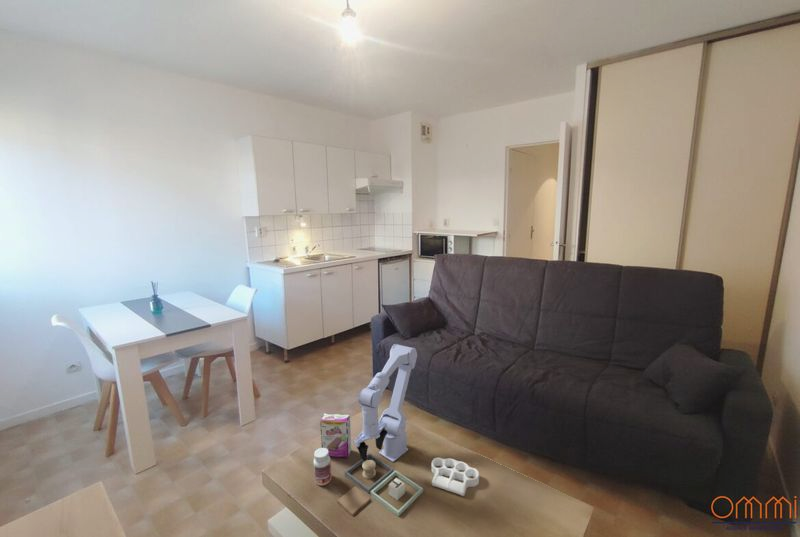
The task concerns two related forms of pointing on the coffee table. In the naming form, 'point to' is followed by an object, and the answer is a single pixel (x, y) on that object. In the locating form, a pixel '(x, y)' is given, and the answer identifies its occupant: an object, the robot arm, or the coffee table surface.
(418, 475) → the coffee table surface
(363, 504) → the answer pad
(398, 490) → the letter cube
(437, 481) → the knuckle duster
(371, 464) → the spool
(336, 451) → the candy bar box
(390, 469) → the charcoal tray
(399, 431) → the robot arm
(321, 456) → the pill bottle
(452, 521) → the coffee table surface
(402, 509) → the green tray
